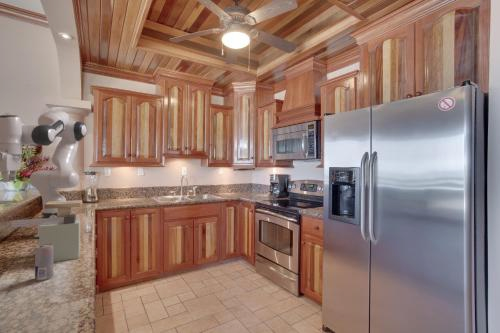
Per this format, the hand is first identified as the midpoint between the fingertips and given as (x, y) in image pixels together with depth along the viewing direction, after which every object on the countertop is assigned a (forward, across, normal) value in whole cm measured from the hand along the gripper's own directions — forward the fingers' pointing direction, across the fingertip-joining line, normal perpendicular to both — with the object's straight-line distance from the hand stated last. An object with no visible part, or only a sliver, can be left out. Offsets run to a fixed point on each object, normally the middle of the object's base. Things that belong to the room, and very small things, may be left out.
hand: (9, 181), depth 116 cm
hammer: (+19, -12, -14) cm, 26 cm away
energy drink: (+35, -34, -18) cm, 52 cm away
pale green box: (+35, -12, -20) cm, 42 cm away
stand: (+35, -1, -20) cm, 40 cm away
